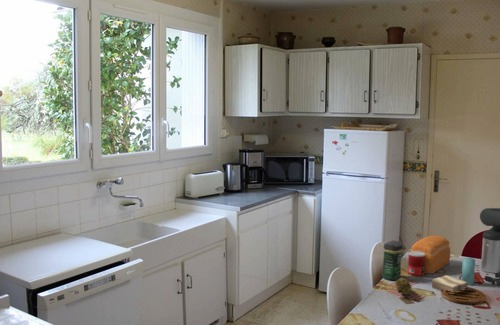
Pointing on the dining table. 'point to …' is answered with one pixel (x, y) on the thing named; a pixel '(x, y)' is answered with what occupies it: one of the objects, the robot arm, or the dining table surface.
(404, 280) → the potato
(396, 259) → the coffee jar
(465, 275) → the pillar
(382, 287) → the dining table surface
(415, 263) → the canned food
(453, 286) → the plinth
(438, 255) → the bread
